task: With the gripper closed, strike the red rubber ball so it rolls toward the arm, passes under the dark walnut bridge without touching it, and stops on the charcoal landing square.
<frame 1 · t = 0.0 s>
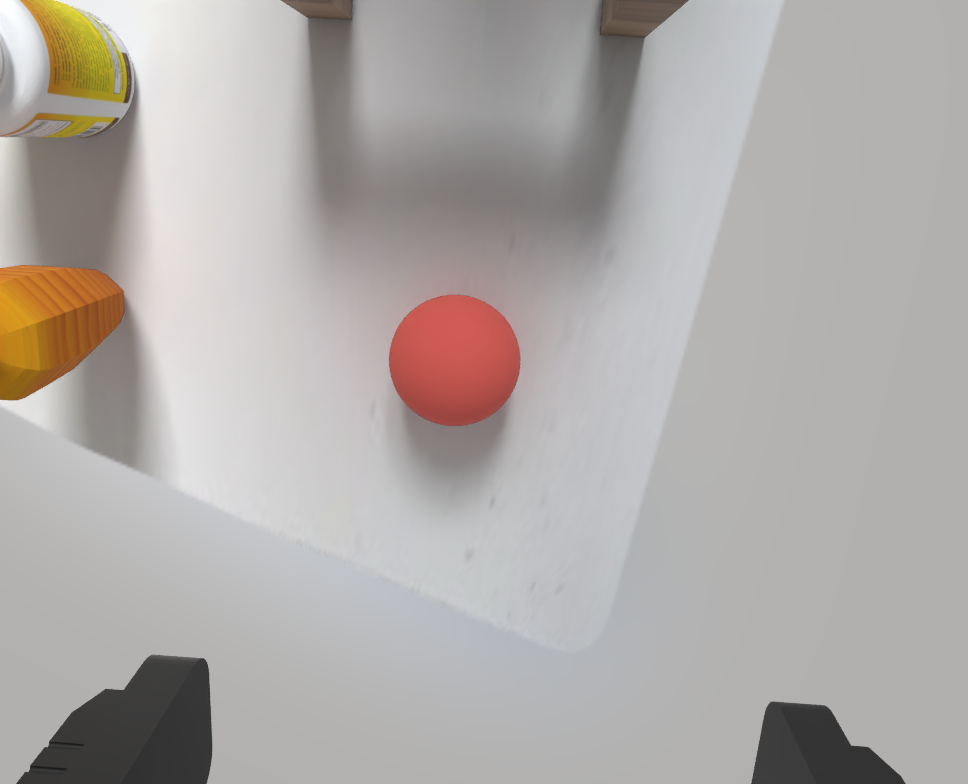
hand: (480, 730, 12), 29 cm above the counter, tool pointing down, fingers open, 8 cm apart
carrot: (118, 292, 40), on the counter
ball: (454, 360, 37), on the counter
supplement bottle: (81, 75, 37), on the counter
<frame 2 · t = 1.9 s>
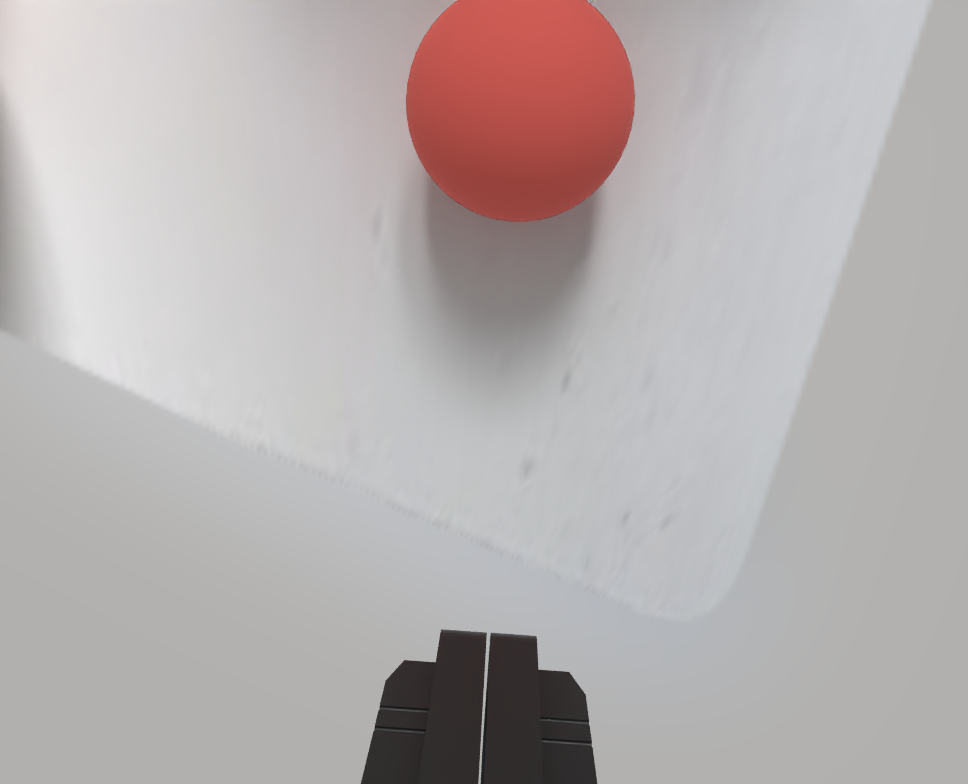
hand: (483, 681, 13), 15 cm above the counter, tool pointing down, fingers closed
ball: (519, 106, 21), on the counter
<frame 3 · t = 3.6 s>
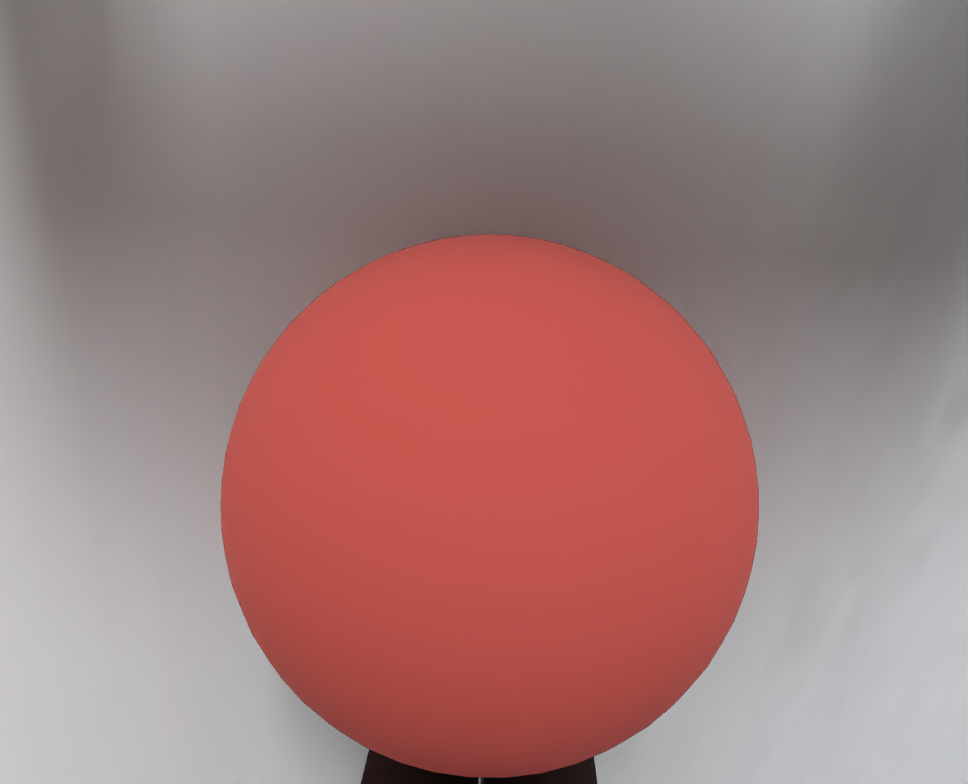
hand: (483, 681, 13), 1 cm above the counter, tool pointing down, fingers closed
ball: (489, 494, 10), on the counter, touching gripper
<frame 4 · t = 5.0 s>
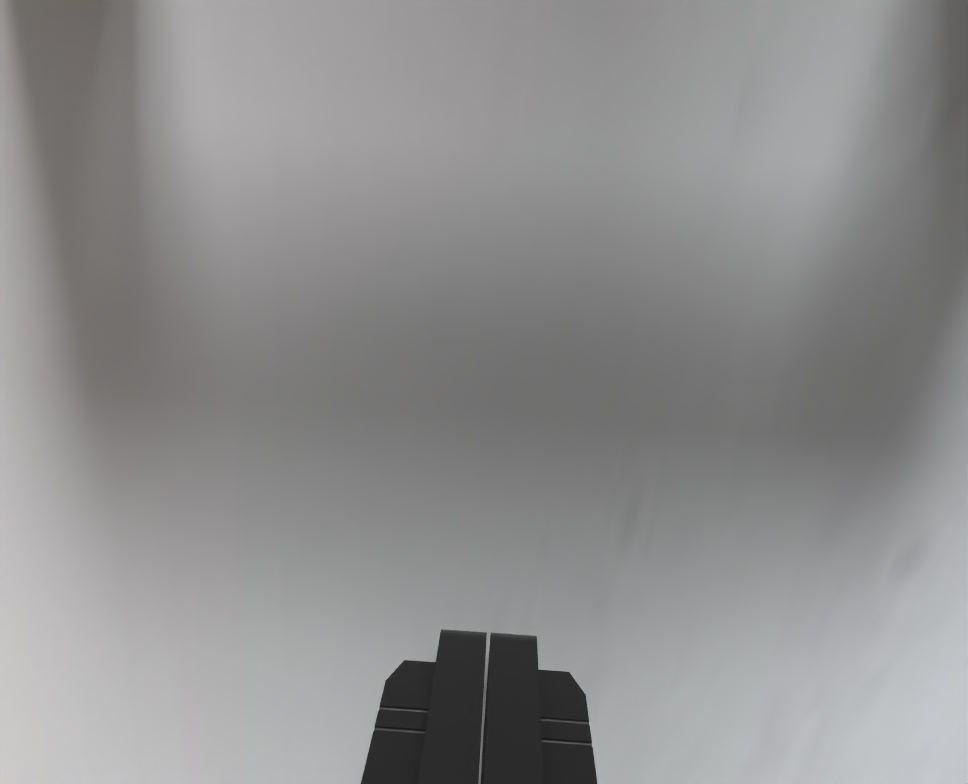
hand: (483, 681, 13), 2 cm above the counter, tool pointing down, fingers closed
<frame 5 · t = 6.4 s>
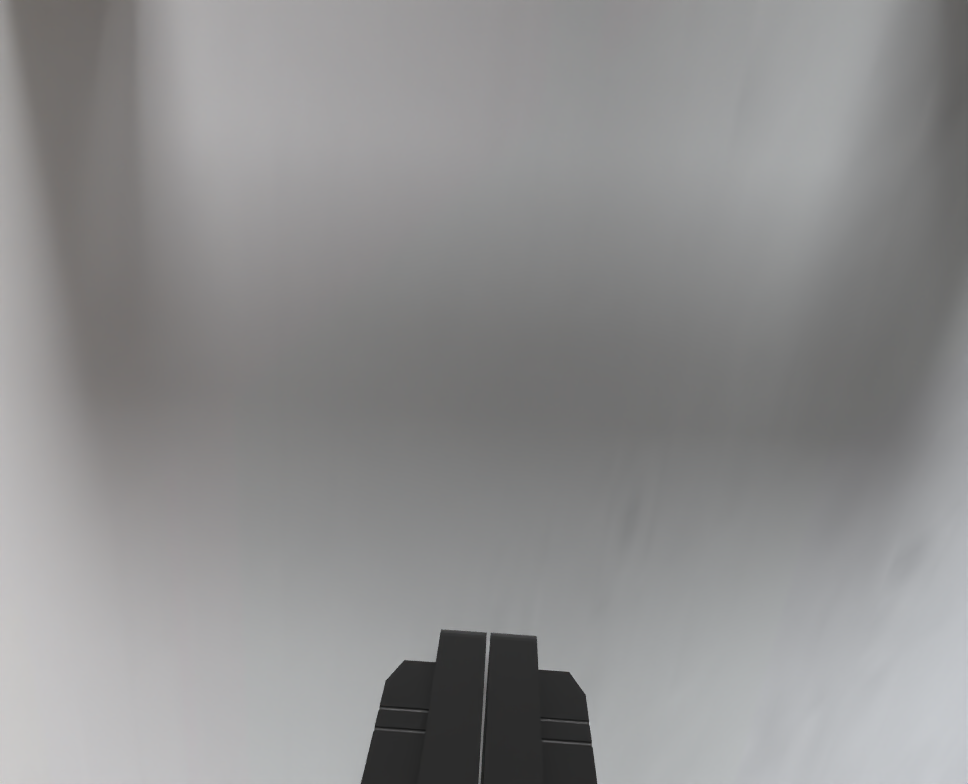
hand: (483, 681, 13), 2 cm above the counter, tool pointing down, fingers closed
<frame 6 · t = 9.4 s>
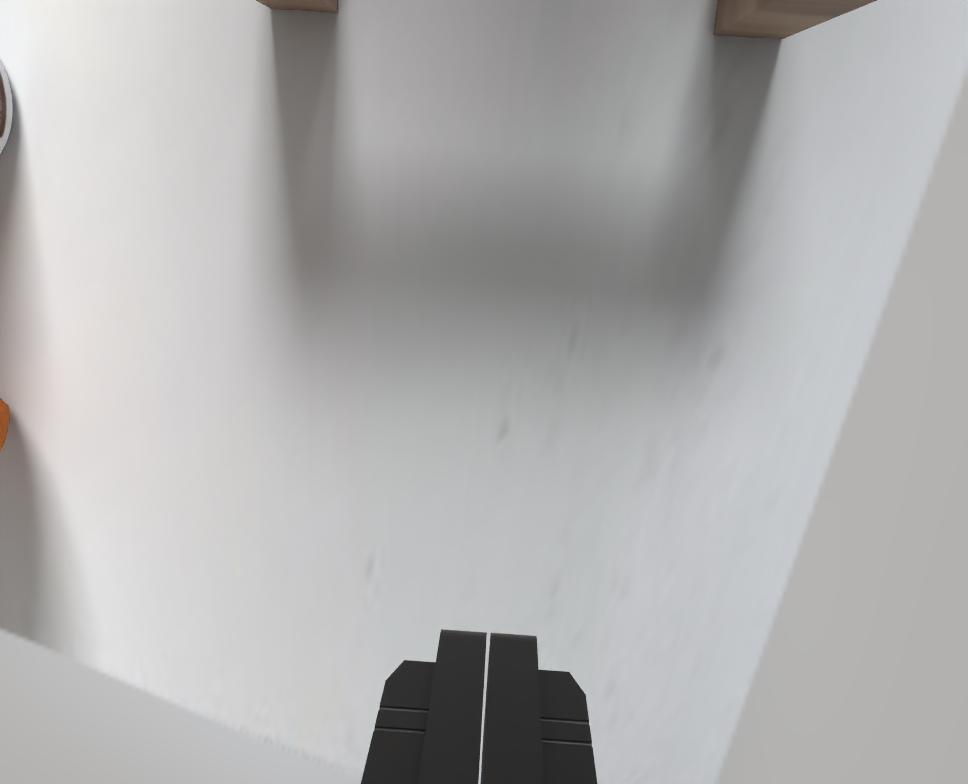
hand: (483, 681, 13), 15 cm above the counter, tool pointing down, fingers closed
carrot: (4, 405, 28), on the counter
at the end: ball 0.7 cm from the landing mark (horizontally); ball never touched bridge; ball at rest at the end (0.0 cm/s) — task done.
